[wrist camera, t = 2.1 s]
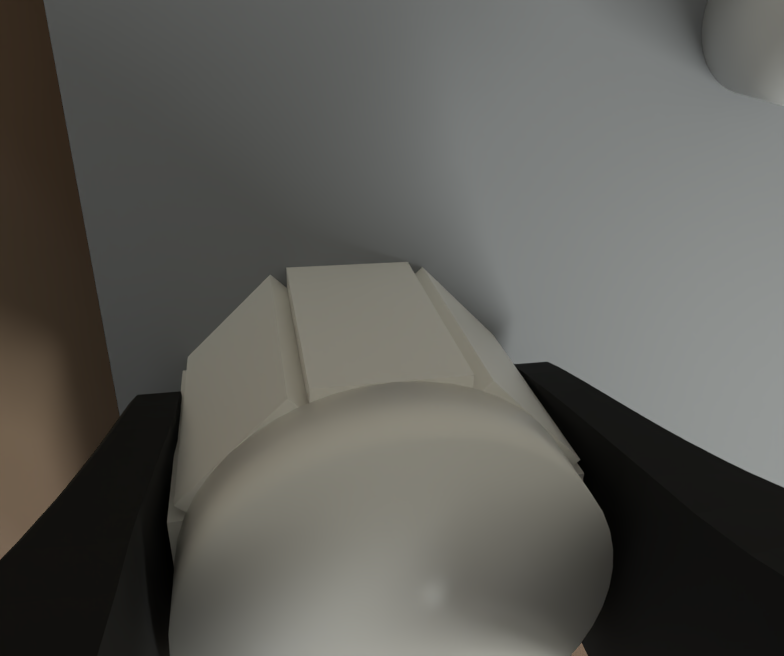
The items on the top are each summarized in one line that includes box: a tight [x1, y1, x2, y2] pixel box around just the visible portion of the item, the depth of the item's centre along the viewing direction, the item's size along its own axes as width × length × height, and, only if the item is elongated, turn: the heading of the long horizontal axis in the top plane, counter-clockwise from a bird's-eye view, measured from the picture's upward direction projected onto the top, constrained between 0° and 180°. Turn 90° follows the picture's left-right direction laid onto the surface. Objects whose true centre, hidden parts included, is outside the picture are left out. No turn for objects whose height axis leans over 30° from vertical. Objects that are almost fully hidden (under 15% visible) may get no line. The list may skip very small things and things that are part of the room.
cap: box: [167, 262, 613, 656], centre depth 9 cm, size 5×5×4 cm
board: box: [43, 0, 784, 487], centre depth 10 cm, size 13×13×4 cm
